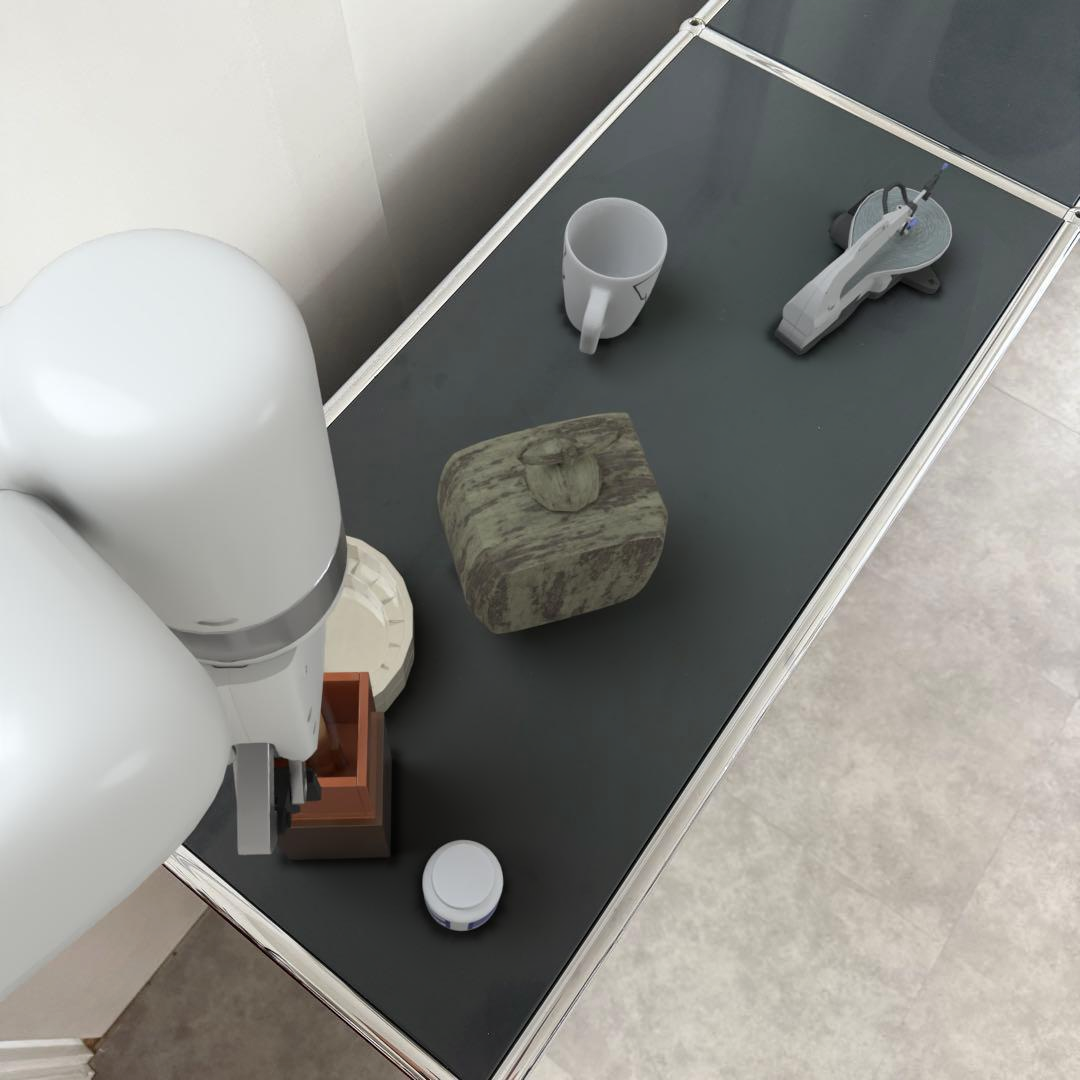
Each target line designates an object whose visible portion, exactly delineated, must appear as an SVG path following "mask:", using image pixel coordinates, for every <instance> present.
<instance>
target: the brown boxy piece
mask: <svg viewBox="0 0 1080 1080" xmlns="http://www.w3.org/2000/svg"><path fill="white" fill-rule="evenodd" d="M321 714H322V717H323V719H324V722H325V725H326V728H327V730H328V733H329V736H330V739H331V740H332V739H338V740H339V742H340V745H341V748H342V751H343V754H344V757H345V769H337V771H336V772H335V774H333V775H332V776H330V777H319V776H317V775H316V774H315V775H316V777H317V779H318V781H319V784H320V786H321V788H322V792H321V800H320V801H307V802H306V803H305V804H300V812H299V813H296V814H291V815H292V823H291V828H288V829H287V832H286V835H285V836H277V843H276V845H277V847H279V849H280V850H281V851H282V853H284V855H285V856H286V857H287V858H288V859H289V861H303V860H304V861H305V860H307V861H308V860H337V859H369V858H371V859H374V858H375V859H376V858H390V857H391V854H392V853H391V851H392V849H391V847H392V846H391V845H392V843H391V842H392V841H391V840H392V836H391V835H392V781H393V779H392V778H393V777H392V775H393V772H392V771H393V770H392V769H393V759H392V752H391V746H390V740H389V733H388V728H387V722H386V716H385V712H376V708H375V703H374V697H373V692H372V687H371V681H370V676H369V672H360V673H359V672H324V674H323V688H322V701H321ZM282 767H289V761H288V759H286V758H274V768H282Z"/></svg>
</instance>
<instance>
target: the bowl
mask: <svg viewBox="0 0 1080 1080" xmlns="http://www.w3.org/2000/svg"><path fill="white" fill-rule="evenodd" d="M346 540H347V545H348V553H349V562H348V571H347V577H346V582H345V585H344V588H343V591H342V594H341V596H340V598H339V600H338V602H337V604H336V606H335V608H334V610H333V611H332V613H331V614H330V615H329V617H328V618H327V619H326V641H325V658H324V672H359V673H360V672H369V676H370V681H371V687H372V692H373V697H374V703H375V708H376V712H384V713H385V712H386V711H387V710H388V709H390V707H391V705H392V704H393V703H394V701H395V700H396V698H398V697H399V695H400V694H401V692H402V691H403V690H404V688H405V687H406V684H407V681H408V678H409V675H410V673H411V669H412V666H413V665H414V661H415V620H414V618H415V617H414V605H413V602H412V599H411V597H410V594H409V591H408V588H407V585H406V582H405V580H404V578H403V576H402V575H401V574H400V573H399V571H398V570H397V569H396V567H395V566H394V565H393V563H392V562H391V561H390V560H389V558H388V557H387V556H386V555H385V554H383V553H382V552H380V551H379V550H377V549H376V548H375V547H373V546H371V545H370V544H368V543H367V542H365V541H364V540H362V539H359V538H357V537H352V536H349V535H346Z"/></svg>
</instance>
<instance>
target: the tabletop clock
mask: <svg viewBox="0 0 1080 1080" xmlns="http://www.w3.org/2000/svg"><path fill="white" fill-rule="evenodd" d="M440 474H441V475H440V477H439V483H438V488H437V495H436V501H437V502H436V503H437V507H438V513H439V514H438V515H439V519H440V521H441V525H442V528H443V531H444V535H445V537H446V541H447V545H448V547H449V550H450V554H451V558H452V561H453V564H454V567H455V571H456V574H457V578H458V581H459V584H460V587H461V591H462V593H463V597H464V601H465V603H466V606H467V608H468V611H469V612H470V613H471V615H473V616H474V617H475V618H476V619H477V620H478V621H479V622H480V623H482V624H483V625H484V626H485V627H486V628H487V629H488V630H489V631H490V632H491V633H493V634H495V635H500V634H507V633H513V632H518V631H522V630H526V629H530V628H533V627H537V626H542V625H546V624H550V623H554V622H557V621H561V620H565V619H569V618H573V617H576V616H580V615H583V614H586V613H590V612H593V611H597V610H600V609H604V608H607V607H611V606H614V605H617V604H619V603H622V602H625V601H627V600H630V599H632V598H634V597H635V596H636V595H638V593H640V592H641V591H642V590H643V589H644V588H645V586H646V585H647V583H648V581H649V580H650V578H651V577H652V575H653V573H654V572H655V570H656V568H657V566H658V563H659V561H660V558H661V555H662V552H663V549H664V545H665V538H666V533H667V527H668V521H669V514H668V510H667V507H666V504H665V502H664V500H663V496H662V495H661V491H660V489H659V486H658V485H657V482H656V480H655V477H654V474H653V472H652V468H651V466H650V464H649V461H648V458H647V455H646V453H645V451H644V449H643V445H642V444H641V441H640V438H639V436H638V433H637V430H636V428H635V426H634V422H633V421H632V419H631V417H630V415H629V414H628V412H605V413H597V414H591V415H585V416H580V417H576V418H570V419H565V420H561V421H560V420H559V421H555V422H550V423H545V424H541V425H537V426H532V427H529V428H525V429H522V430H518V431H514V432H510V433H507V434H503V435H500V436H496V437H492V438H489V439H486V440H483V441H480V442H477V443H473V444H471V445H469V446H467V447H465V448H462V449H460V450H458V451H455V452H453V454H452V455H451V456H450V457H449V460H447V462H446V463H445V464H444V467H443V469H442V471H441V473H440Z"/></svg>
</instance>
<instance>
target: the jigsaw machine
mask: <svg viewBox="0 0 1080 1080" xmlns="http://www.w3.org/2000/svg"><path fill="white" fill-rule="evenodd" d="M948 167H949V164H948V163H947V162H944V163H943V165H942V167H941V169H940V170H939V172H937V173H935V175H934V176H933V177H932V178H931V179H929V180H928V181H927V182H926V183H925V184H924V185H923V187H922V189H921V191H918V190H916V189H913V188H908V187H906V184H904V183H902V182H901V180H896V181H894V182H891V183H890V184H888V185H887V186H886V187H884V188H881V189H878V190H876V191H874V190H873V189H871V191H869V192H868V193H867V194H866V195H865V196H863V197H862V198H861V199H860V200H858V202H857V203H855V204H854V205H853V206H852V207H851V208H849V209H847V211H844V213H841V214H839V215H838V216H837V217H836V218H835V220H834V221H833V222H832V224H831V225H830V226H829V228H828V230H827V231H828V233H829V234H828V237H829V239H830V240H831V241H833V242H834V243H835V244H837V246H839V247H840V248H841V249H842V250H844V252H843V253H842V254H841V255H839V257H837V258H836V259H835V260H833V261H832V262H831V263H830V264H829V265H827V267H826V266H825V268H824V269H823V270H822V271H820V273H818V274H817V275H816V276H815V277H814V278H813V279H812V280H810V281H808V282H807V283H806V284H805V285H803V287H802V288H801V289H799V291H798V292H797V293H796V294H795V295H794V296H793V297H792V298H791V299H790V300H789V301H788V302H787V303H785V305H784V306H783V308H782V320H781V322H780V323H779V324H778V326H777V328H776V329H775V332H774V337H775V338H776V339H778V341H780V342H781V343H782V344H783V345H785V347H787V348H789V350H790V351H792V352H793V353H795V354H796V355H797V356H802V355H804V354H806V353H807V352H808V351H809V350H811V349H812V348H813V347H814V346H815V345H816V344H817V343H818V342H820V341H821V340H822V339H823V338H825V337H826V336H827V335H829V334H830V333H832V332H834V331H835V330H836V329H837V328H839V327H840V326H841V325H842V324H844V323H845V321H846V320H847V319H848V318H849V317H850V316H851V315H852V314H853V313H854V312H855V311H856V309H857V308H858V306H859V305H860V304H861V303H862V302H863V301H865V300H866V299H871V300H877V299H879V298H882V296H883V295H885V294H886V293H887V292H888V291H889V290H891V288H893V287H894V286H895V285H896V284H897V283H899V282H900V283H903V284H905V285H907V286H909V287H911V288H913V289H915V290H917V291H919V292H922V293H924V294H929V295H934V294H935V293H936V292H937V291H938V289H939V287H940V286H941V283H940V281H939V279H938V277H937V275H936V274H935V272H934V270H933V269H932V267H931V266H930V265H931V264H933V263H935V262H936V261H937V260H939V259H940V258H941V257H942V256H943V255H944V254H945V252H946V251H947V250H948V249H949V246H950V245H951V241H952V237H953V231H952V229H953V228H952V223H951V221H950V219H949V216H948V215H947V213H946V211H945V210H944V208H943V207H942V206H941V205H940V204H939V203H938V202H937V201H935V200H934V199H933V198H932V193H931V192H932V190H934V188H935V186H936V185H937V183H938V181H939V180H940V178H941V176H940V175H941V174H942V173H943V171H944V170H945V169H947V168H948Z"/></svg>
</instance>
